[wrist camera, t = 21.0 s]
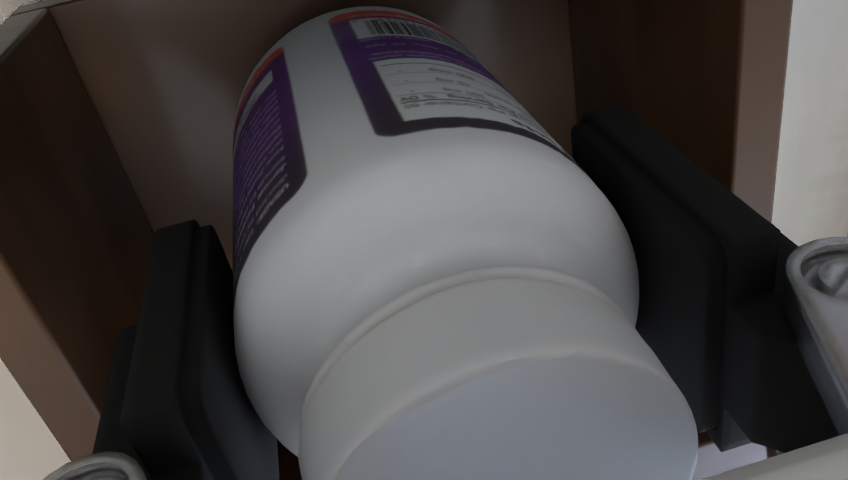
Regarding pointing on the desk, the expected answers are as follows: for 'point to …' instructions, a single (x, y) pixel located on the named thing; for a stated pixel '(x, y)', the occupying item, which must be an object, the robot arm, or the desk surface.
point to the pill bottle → (433, 273)
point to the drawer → (215, 120)
